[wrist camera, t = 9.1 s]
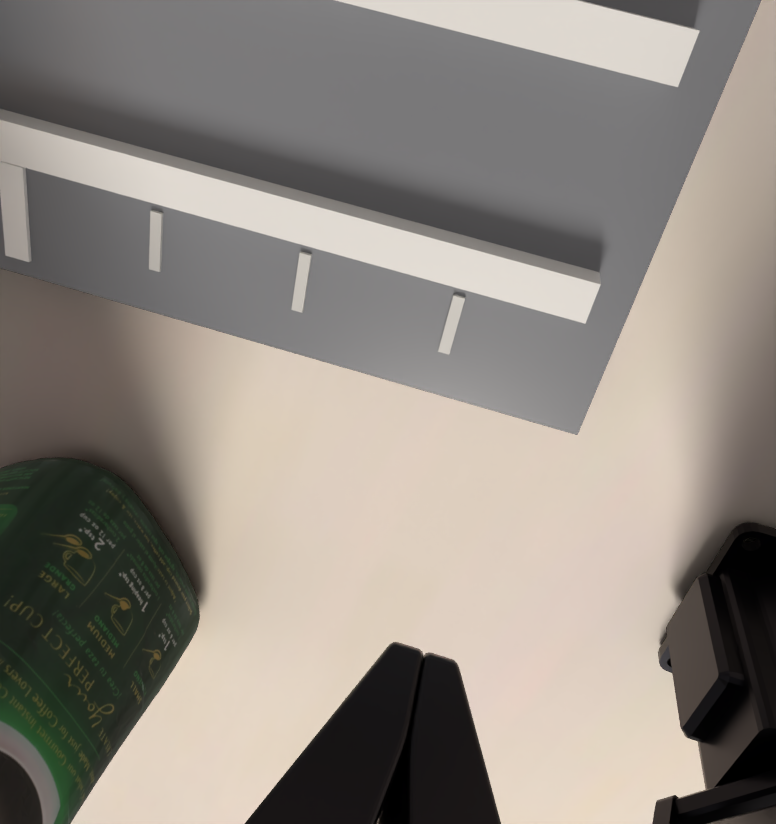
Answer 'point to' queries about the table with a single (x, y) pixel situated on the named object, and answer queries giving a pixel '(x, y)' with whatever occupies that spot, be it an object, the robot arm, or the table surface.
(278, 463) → the table surface
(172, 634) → the coffee jar
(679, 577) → the table surface
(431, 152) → the console
